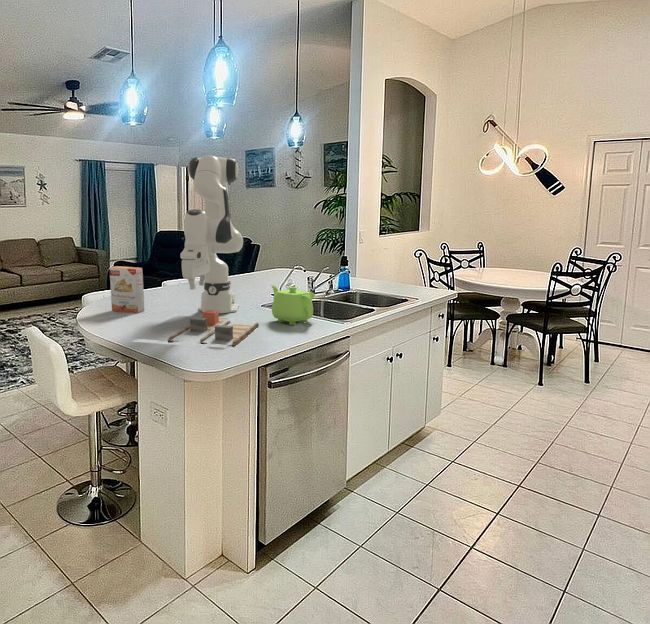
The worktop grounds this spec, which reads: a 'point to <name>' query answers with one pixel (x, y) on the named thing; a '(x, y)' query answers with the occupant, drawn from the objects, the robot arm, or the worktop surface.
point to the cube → (211, 316)
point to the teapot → (292, 305)
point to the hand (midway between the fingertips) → (197, 287)
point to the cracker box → (127, 289)
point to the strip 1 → (202, 325)
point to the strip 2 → (229, 332)
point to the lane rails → (214, 333)
